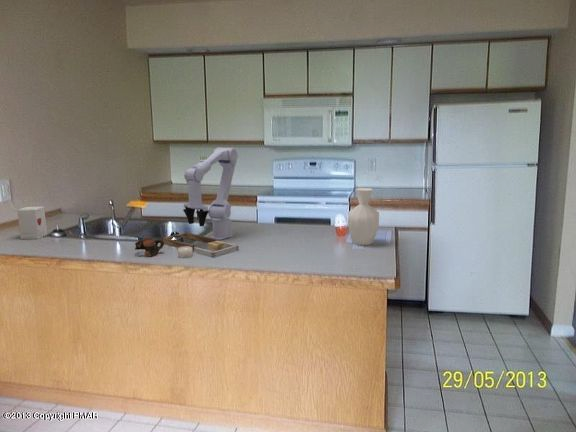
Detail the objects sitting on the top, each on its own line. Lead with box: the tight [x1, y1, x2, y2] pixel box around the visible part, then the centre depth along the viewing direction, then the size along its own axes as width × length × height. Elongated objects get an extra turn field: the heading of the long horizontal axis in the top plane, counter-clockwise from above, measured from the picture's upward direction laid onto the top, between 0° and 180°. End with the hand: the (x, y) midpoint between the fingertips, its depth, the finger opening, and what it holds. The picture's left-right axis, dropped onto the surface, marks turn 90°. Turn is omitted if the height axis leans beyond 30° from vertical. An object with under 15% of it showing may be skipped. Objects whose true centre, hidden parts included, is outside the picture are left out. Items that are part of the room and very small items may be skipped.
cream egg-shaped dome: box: [177, 246, 194, 259], centre depth 193 cm, size 6×6×4 cm
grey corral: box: [194, 242, 239, 258], centre depth 199 cm, size 14×12×2 cm
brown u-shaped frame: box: [161, 231, 218, 252], centre depth 212 cm, size 14×23×2 cm, turn 49°
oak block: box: [207, 240, 227, 252], centre depth 199 cm, size 6×6×4 cm
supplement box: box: [16, 205, 48, 240], centre depth 227 cm, size 9×9×15 cm
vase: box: [347, 187, 380, 246], centre depth 207 cm, size 14×14×25 cm
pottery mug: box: [134, 237, 165, 258], centre depth 197 cm, size 12×9×8 cm
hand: (196, 224), depth 206 cm, fingers open, 7 cm apart
